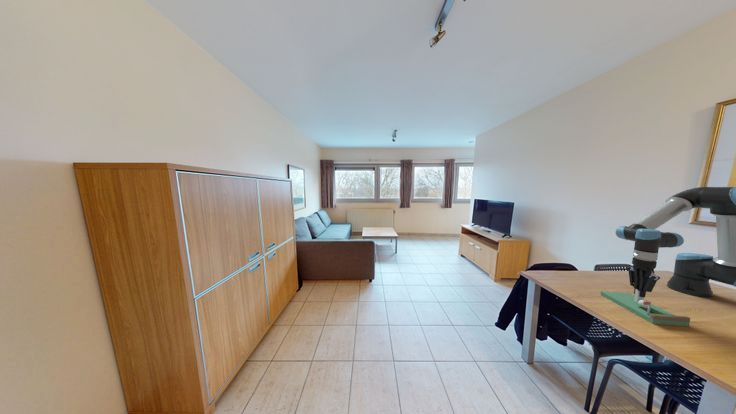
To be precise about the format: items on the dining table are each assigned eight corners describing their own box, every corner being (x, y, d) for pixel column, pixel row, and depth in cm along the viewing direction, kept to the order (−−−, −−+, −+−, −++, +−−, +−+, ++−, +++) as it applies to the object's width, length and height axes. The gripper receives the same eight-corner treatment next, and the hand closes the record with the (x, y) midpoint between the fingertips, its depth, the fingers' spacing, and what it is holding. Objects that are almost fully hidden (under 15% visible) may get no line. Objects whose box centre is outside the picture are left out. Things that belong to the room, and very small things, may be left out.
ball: (652, 310, 105) (643, 304, 108) (655, 303, 103) (646, 298, 107) (642, 309, 105) (634, 303, 109) (646, 303, 104) (637, 297, 108)
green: (628, 296, 121) (630, 281, 120) (689, 326, 95) (692, 308, 94) (598, 294, 123) (600, 280, 122) (650, 323, 97) (652, 305, 96)
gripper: (622, 254, 113) (617, 294, 116) (650, 263, 101) (644, 308, 103) (639, 254, 112) (633, 295, 115) (669, 263, 99) (662, 309, 102)
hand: (638, 301), depth 109 cm, fingers closed
